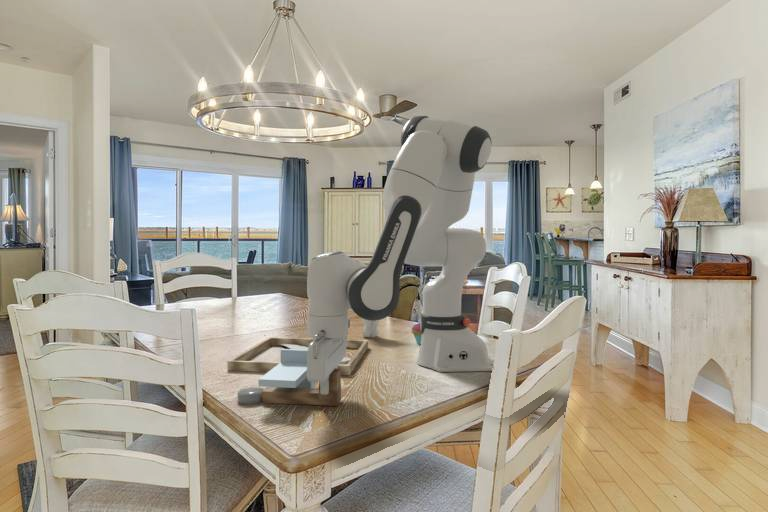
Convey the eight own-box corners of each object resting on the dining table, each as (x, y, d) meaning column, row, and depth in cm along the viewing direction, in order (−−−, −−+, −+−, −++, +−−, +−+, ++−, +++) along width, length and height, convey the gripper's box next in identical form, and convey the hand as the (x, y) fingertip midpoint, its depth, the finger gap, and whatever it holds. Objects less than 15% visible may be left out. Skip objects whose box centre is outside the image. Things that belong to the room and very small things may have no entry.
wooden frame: (368, 347, 148) (368, 340, 148) (349, 375, 118) (349, 365, 118) (269, 344, 152) (269, 337, 152) (227, 370, 122) (227, 361, 122)
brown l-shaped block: (340, 400, 99) (340, 368, 99) (337, 405, 96) (336, 373, 95) (267, 397, 101) (266, 366, 101) (261, 403, 98) (260, 371, 98)
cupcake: (406, 343, 154) (406, 308, 154) (422, 339, 160) (422, 306, 160) (425, 347, 148) (425, 311, 148) (441, 343, 154) (441, 308, 154)
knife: (356, 368, 125) (356, 359, 125) (333, 373, 121) (333, 364, 121) (294, 344, 154) (294, 336, 154) (273, 347, 150) (273, 340, 150)
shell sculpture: (385, 335, 166) (385, 287, 165) (373, 340, 159) (373, 289, 158) (367, 333, 170) (367, 286, 170) (354, 337, 163) (354, 288, 163)
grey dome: (269, 396, 103) (268, 387, 103) (260, 405, 97) (260, 396, 97) (243, 395, 103) (243, 387, 103) (233, 405, 97) (233, 396, 97)
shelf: (314, 389, 107) (314, 349, 106) (295, 411, 93) (295, 366, 93) (282, 387, 108) (282, 348, 107) (258, 409, 94) (258, 365, 94)
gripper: (330, 337, 86) (330, 407, 87) (351, 318, 107) (351, 376, 107) (298, 336, 87) (299, 406, 88) (325, 318, 107) (326, 374, 108)
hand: (328, 389), depth 98 cm, fingers closed on brown l-shaped block, 3 cm apart
